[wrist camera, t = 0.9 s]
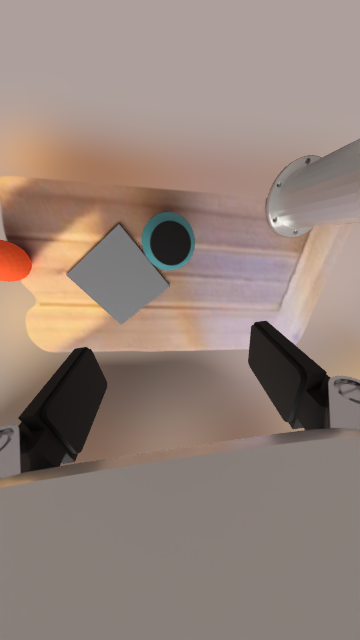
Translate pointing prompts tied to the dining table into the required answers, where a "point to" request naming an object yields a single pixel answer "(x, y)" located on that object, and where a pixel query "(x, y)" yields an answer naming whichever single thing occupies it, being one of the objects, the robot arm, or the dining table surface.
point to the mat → (118, 276)
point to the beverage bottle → (168, 241)
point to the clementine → (13, 262)
